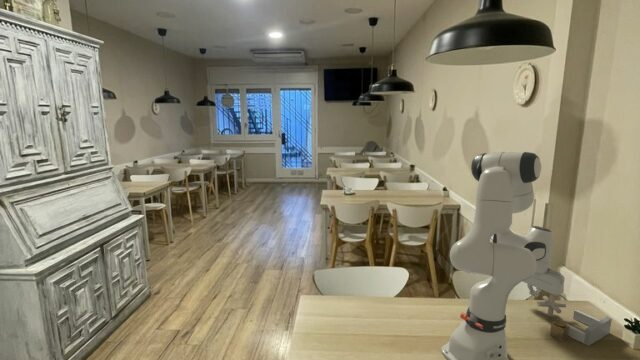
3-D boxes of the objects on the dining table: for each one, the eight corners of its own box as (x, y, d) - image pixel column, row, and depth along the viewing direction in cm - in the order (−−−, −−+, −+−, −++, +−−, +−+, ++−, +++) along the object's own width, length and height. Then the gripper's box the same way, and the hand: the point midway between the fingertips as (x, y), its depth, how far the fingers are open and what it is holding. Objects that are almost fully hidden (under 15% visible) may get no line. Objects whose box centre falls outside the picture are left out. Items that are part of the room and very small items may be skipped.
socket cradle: (588, 346, 121) (591, 330, 120) (554, 328, 131) (555, 314, 130) (609, 333, 128) (611, 318, 127) (575, 317, 138) (577, 303, 137)
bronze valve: (561, 341, 124) (563, 327, 123) (549, 335, 127) (551, 321, 126) (567, 338, 126) (569, 323, 125) (556, 332, 129) (557, 318, 128)
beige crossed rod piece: (556, 309, 144) (558, 287, 142) (570, 323, 134) (574, 300, 132) (530, 308, 145) (533, 286, 143) (543, 322, 135) (546, 299, 133)
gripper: (569, 272, 134) (564, 305, 137) (518, 254, 152) (515, 283, 154) (560, 276, 131) (556, 309, 134) (509, 257, 149) (506, 286, 152)
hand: (533, 295), depth 144 cm, fingers closed
